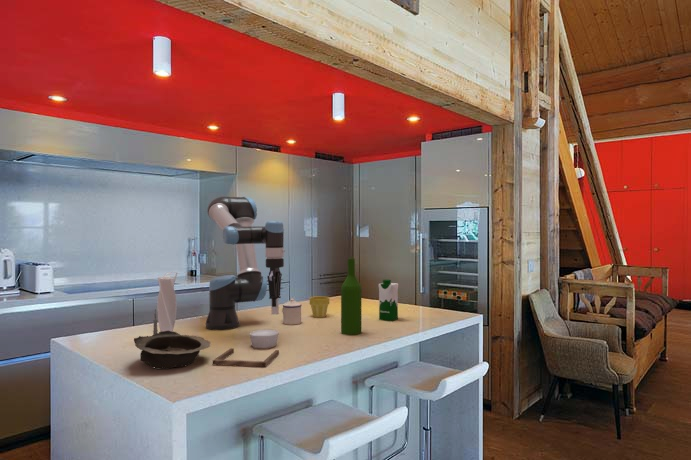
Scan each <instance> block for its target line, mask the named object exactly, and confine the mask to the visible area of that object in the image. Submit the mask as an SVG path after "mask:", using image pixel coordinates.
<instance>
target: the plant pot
mask: <svg viewBox="0 0 691 460" xmlns="http://www.w3.org/2000/svg"><path fill="white" fill-rule="evenodd" d="M308 303H309V305H310V309H311V312H312V317H314V318H325V317H327V314H328V313H327V312H328V307H329V305H330V296H323V295H321V296H318V295H317V296H311V297H309V301H308Z"/></svg>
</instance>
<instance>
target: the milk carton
mask: <svg viewBox="0 0 691 460" xmlns="http://www.w3.org/2000/svg"><path fill="white" fill-rule="evenodd" d="M391 280H392V279H383V280H382V283H378V291H379V292H378V296H379V297H378V302H379V303H378V307H379V308H378V311H379V312H378V316H379V317H378V320H379V321H387V322H393V321H396V320H398V319H399V311H398V309H399V308H398V307H399V303H398V302H399V298H398V297H399V294H398V293H399V292H398V291H399V283H395V282H392V281H391Z"/></svg>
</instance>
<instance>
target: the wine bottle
mask: <svg viewBox="0 0 691 460" xmlns="http://www.w3.org/2000/svg"><path fill="white" fill-rule="evenodd" d="M355 260H356V258H353V257H350V258H349V257H348V258H347V277H346V278H345V280H344V281H343V283H342V284H341V287H340V295H341V296H340V331H341V332H340V333H341V334H343V335H346V336H355V335H356V336H358V335H360V334H362V286H361V284H360V281H359V279H357V277H356V269H355V267H356V264H355Z"/></svg>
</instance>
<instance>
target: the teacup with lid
mask: <svg viewBox="0 0 691 460" xmlns="http://www.w3.org/2000/svg"><path fill="white" fill-rule="evenodd" d="M281 312H282V317H283V318H282V323H283V324H284V325H287V326H293V325H300V324H301V323H302V303H301V302H298V301H296V300H295V299H294V298H290V299H289V301H286V302H285V303H283V304H282V309H281Z"/></svg>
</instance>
